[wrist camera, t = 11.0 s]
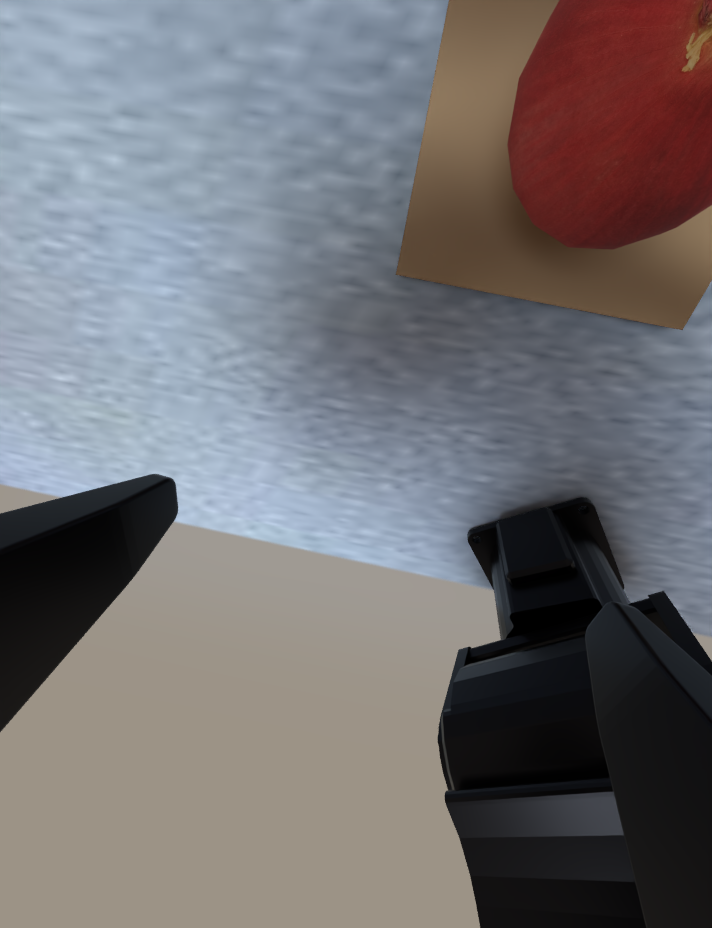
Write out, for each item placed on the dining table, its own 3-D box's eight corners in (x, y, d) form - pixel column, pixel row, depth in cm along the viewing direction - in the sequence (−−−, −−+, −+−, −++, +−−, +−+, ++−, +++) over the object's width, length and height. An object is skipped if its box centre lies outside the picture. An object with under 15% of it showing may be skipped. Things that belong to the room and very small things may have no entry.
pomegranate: (704, -29, 10) (1315, -744, 3) (695, 213, 12) (1028, 136, 5) (480, 88, 12) (525, -169, 5) (508, 277, 14) (566, 284, 7)
